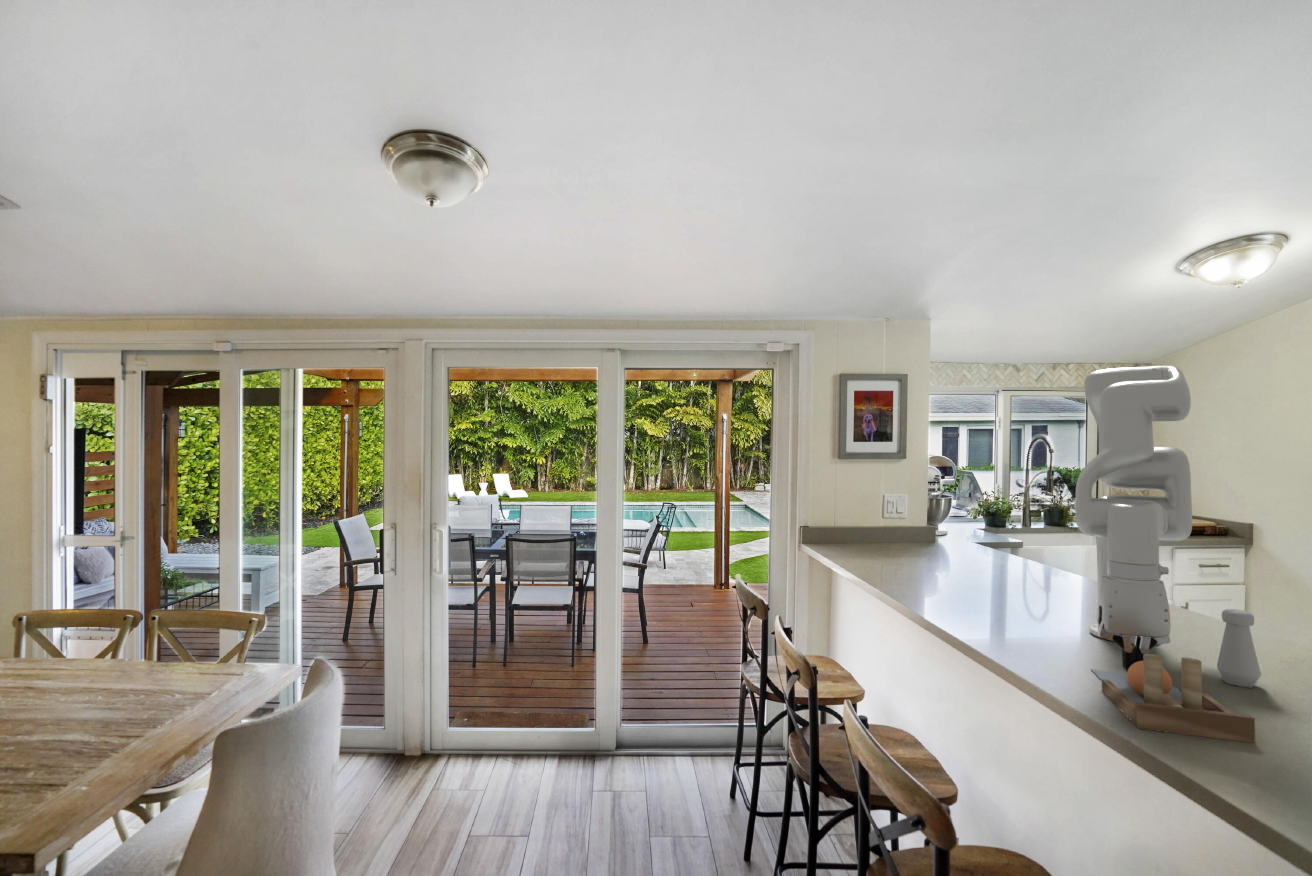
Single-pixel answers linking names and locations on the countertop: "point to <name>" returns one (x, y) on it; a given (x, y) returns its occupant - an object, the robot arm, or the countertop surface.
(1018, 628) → the countertop surface
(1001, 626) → the countertop surface
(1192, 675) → the pin back left
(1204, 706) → the lane rail
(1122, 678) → the plate
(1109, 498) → the robot arm
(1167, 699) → the pin front
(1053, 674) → the countertop surface
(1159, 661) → the pin back right
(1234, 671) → the salt shaker
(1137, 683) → the ball
